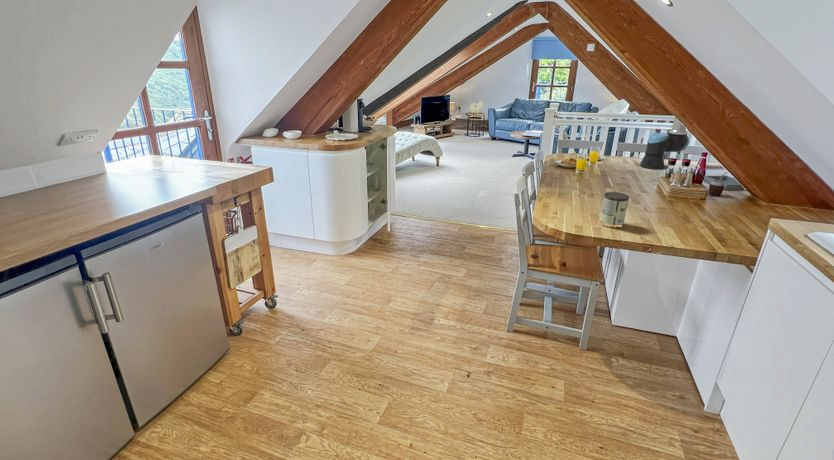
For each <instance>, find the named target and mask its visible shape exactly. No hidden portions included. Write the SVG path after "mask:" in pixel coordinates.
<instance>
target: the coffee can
mask: <svg viewBox="0 0 834 460" xmlns="http://www.w3.org/2000/svg"><path fill="white" fill-rule="evenodd" d="M629 199H630V196H629V195H628V194H625V193H622V192H617V191H610V192H609V191H608V192H605V193H604V194H603V200H602V207H601V213H600V217H599V221H600V220H601V221H603V222H604V223H607V224H613V225H622V224H623V225H624V223H625V218H626V213H627V208H628V203H629Z"/></svg>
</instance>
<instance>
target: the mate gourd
mask: <svg viewBox="0 0 834 460" xmlns="http://www.w3.org/2000/svg"><path fill="white" fill-rule="evenodd" d="M726 174H728V171H726V172H724V173H723V174H722V175H721V176H722V177H723V176H725V175H726ZM722 177H721V178H720V180H719V181H712V182H711V183H710V184H709V185H708V193H707V195H709V196H710V197H718V198H720V197H721V196H722V194H723V192H724V191H725V190H724V186H725V184H724V182H722V181H721V179H722Z"/></svg>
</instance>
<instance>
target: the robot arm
mask: <svg viewBox="0 0 834 460" xmlns="http://www.w3.org/2000/svg"><path fill="white" fill-rule="evenodd" d="M686 130H687V127H686V128H685V127H684V126H683V125H682V124H681V123H680V122H679V121H678V120H677V119H676V117H675V116H674V118H673V122H672V125H671V129H670V130H668V132H667V133H666V132H655V133H651V134H650V135H649V136H648V139H647V145H646V148H645V154H644V156H643V158H642V159H641V161H640V163H639V166H640V168H644V169H649V170H663V169H664V168H665V160H664V159H665V158H664V156H665V153H679V152H682V151H685V150H686V149H687V148H688V146H689V143H690V137H689V135H688V132H687V131H686Z"/></svg>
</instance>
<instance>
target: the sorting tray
mask: <svg viewBox="0 0 834 460" xmlns="http://www.w3.org/2000/svg"><path fill="white" fill-rule="evenodd" d="M704 176H705V178H704V183H706V184H709V185H710V183H711V182H712V181H719V180H720V178H721V177H722V175H704ZM735 179H736V177H735V178H734V177H732V176H729V175H724V176H723V177H722V179H721V181H722V182H724V184H725V186H724V190H723V191H745V190H744V188H743V187H742V186H741V184H739V183H738V182H737V181H736V180H735Z"/></svg>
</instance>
